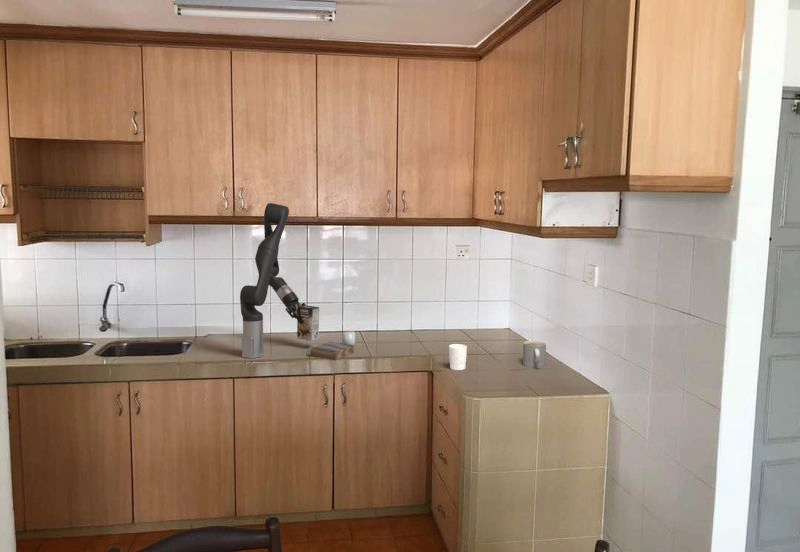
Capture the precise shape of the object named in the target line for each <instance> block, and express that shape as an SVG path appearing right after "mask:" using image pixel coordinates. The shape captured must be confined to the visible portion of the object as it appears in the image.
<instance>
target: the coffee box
mask: <svg viewBox="0 0 800 552" xmlns="http://www.w3.org/2000/svg"><path fill="white" fill-rule="evenodd" d="M298 313H299V316H301V318H302V319H303V320H304V322H303V323H302V324H300V323H299V321H298V320H297V319H296V320H297V322H296V323H297V325H296V328H297V331H296V334H297V335H296V339H297V340H305V341H311V342H312V341H315V340H319V339H320V337H319V336H320V335H319V334H320V306H314V305H313V306H312V305H307V304H306V305H304V306H298Z"/></svg>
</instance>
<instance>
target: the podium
mask: <svg viewBox="0 0 800 552" xmlns="http://www.w3.org/2000/svg"><path fill="white" fill-rule="evenodd" d="M354 353H355V349H354V345H351V344H344V343H343V342H335V341H327V342H325V343H322V344H319V345H316V346H314V347H312V348H310V357H313V358H318V357H319V359H324V358H326V360H332V361H337V360H339V358H340V359H342V358H344V356H345V357H347V356H349V355H352V354H354ZM346 355H347V356H346ZM341 357H342V358H341Z"/></svg>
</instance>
